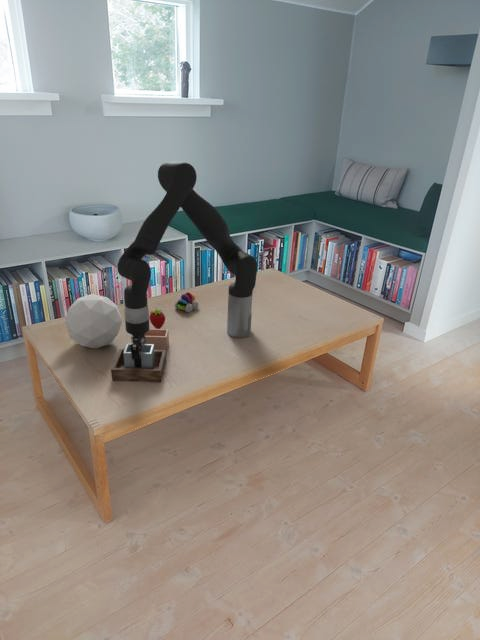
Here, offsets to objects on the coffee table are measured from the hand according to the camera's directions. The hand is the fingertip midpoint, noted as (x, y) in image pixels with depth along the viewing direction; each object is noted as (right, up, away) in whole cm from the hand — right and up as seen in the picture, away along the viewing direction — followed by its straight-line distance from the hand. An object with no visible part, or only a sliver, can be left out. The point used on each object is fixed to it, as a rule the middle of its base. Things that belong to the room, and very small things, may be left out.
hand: (139, 361), depth 157 cm
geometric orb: (-19, +5, +16) cm, 26 cm away
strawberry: (+1, +10, +28) cm, 29 cm away
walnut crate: (0, -3, +2) cm, 4 cm away
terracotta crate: (+3, +4, +16) cm, 17 cm away
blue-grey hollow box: (0, -1, 0) cm, 1 cm away
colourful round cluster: (+11, +19, +46) cm, 51 cm away
